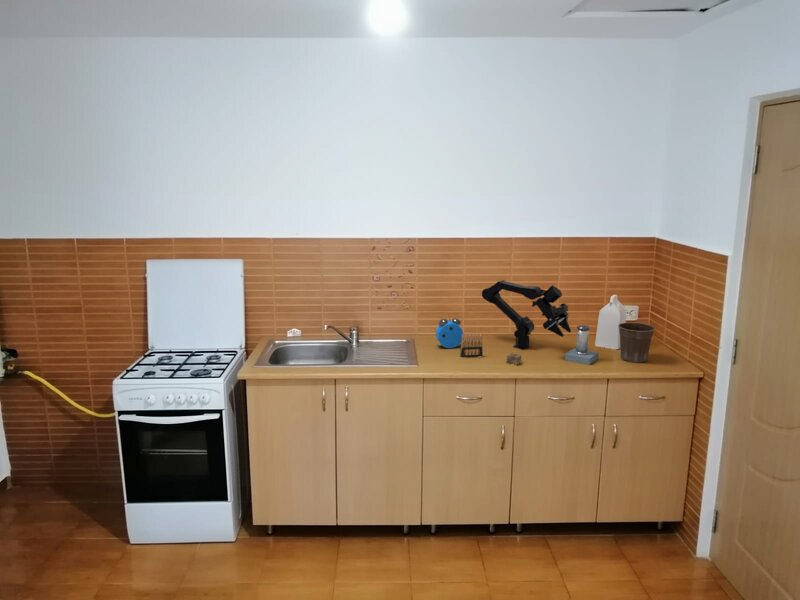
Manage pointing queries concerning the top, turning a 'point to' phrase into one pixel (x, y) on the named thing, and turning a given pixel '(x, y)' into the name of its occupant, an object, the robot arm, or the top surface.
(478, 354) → the ammunition clip
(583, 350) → the glass shaker
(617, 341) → the milk
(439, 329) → the alarm clock
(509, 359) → the offcut block
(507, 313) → the robot arm
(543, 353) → the top surface
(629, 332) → the plant pot
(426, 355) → the top surface
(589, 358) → the stand
